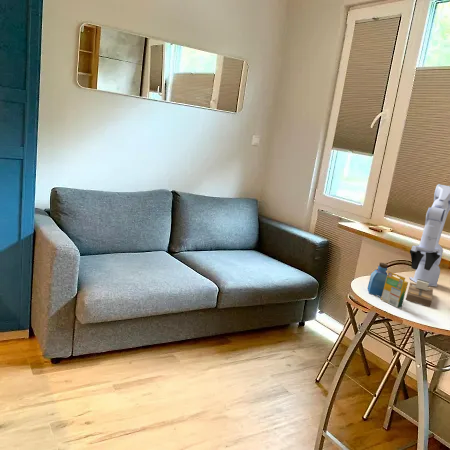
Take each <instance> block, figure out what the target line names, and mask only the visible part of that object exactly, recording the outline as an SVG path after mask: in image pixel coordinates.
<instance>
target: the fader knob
mask: <svg viewBox="0 0 450 450" xmlns="http://www.w3.org/2000/svg"><path fill="white" fill-rule="evenodd" d="M415 284H416V286H415V288H419V289H422V290H426V291H427V288H428V287H429V286H428V285H429V282H428V281H425V280H421V279H417V283H416V282H415Z"/></svg>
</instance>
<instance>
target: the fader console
mask: <svg viewBox="0 0 450 450" xmlns="http://www.w3.org/2000/svg"><path fill="white" fill-rule="evenodd" d="M415 286H416V282H411V281H410V282H409V285H408V289H407V292H406V293H407V294H406V295H405V300H406V301H409V302H410V303H411V302H412V303H415V304H418V305H422V306H425V307H429V308H431V305H432V302H433V297H434V296H433V294H434V293H433V292H434V288H432V287H430V286H428V288H427V291H426V290H422V289H419V288H415Z"/></svg>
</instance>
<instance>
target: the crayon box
mask: <svg viewBox="0 0 450 450" xmlns="http://www.w3.org/2000/svg"><path fill="white" fill-rule="evenodd" d="M387 271H388V272H387V274H388V275H387V278H386V282H385V286H384V290H383V293H382V296H380V297H381V298H380V300H381V302H382V301H383V302H384V303H387V304H389V305H391V306H393V307H396V308H397V309H398V308H402V307H403V303H404V298H405V297H406V293H407V292H406V291H407V290H408V289H407V288H408V286H409V285H408V284H409V282H408V281H406V277H404V276H401V275H399V274H397V273H395V272H392V271H389V270H387Z"/></svg>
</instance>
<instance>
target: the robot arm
mask: <svg viewBox="0 0 450 450" xmlns="http://www.w3.org/2000/svg"><path fill="white" fill-rule="evenodd" d="M449 212H450V185H444V184H441V183H438V184H436V187H435V190H434V194H433V203H432V205H431V207H430V206H429V207H428V209H427V211H426V214H425V221H424V226H423V227H424V228H423V230H422V233H421V238H420V242H419V245H418V244H417V245H412V247H411V249H409V254H410V258H411V259H410V261H411V269H413V270H415V272H414V275H413V277H412V276H409V279H410V280H411V281H413V283H415V284H416V283H417V279H421V280H425V281H428V282H429V285H428V287H438V282H439V278H440V275H441V267H440V266H439V265H440V264H441V260H442V257H443V252H444V249H443V247H442V246H441V245H440V239H441V236H442V233H443V230H444V227H445V223H446V220H447V217H448V215H449Z"/></svg>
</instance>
